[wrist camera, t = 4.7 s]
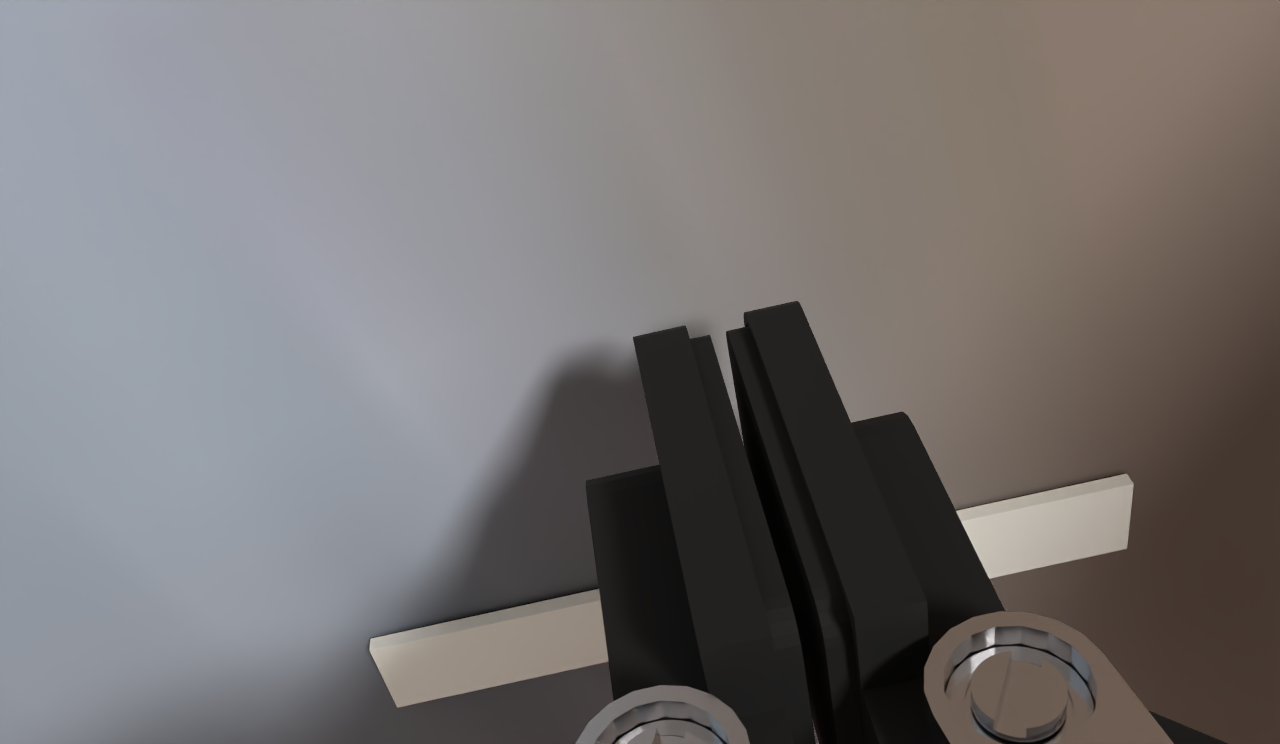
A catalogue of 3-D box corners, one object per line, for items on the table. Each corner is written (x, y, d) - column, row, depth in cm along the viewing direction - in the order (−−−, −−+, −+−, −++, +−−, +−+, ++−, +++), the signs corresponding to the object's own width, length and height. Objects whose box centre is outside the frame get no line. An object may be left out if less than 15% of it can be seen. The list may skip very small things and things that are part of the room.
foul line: (1126, 473, 15) (1133, 483, 15) (1120, 537, 16) (1126, 548, 16) (370, 638, 15) (369, 650, 15) (398, 695, 16) (397, 707, 16)
